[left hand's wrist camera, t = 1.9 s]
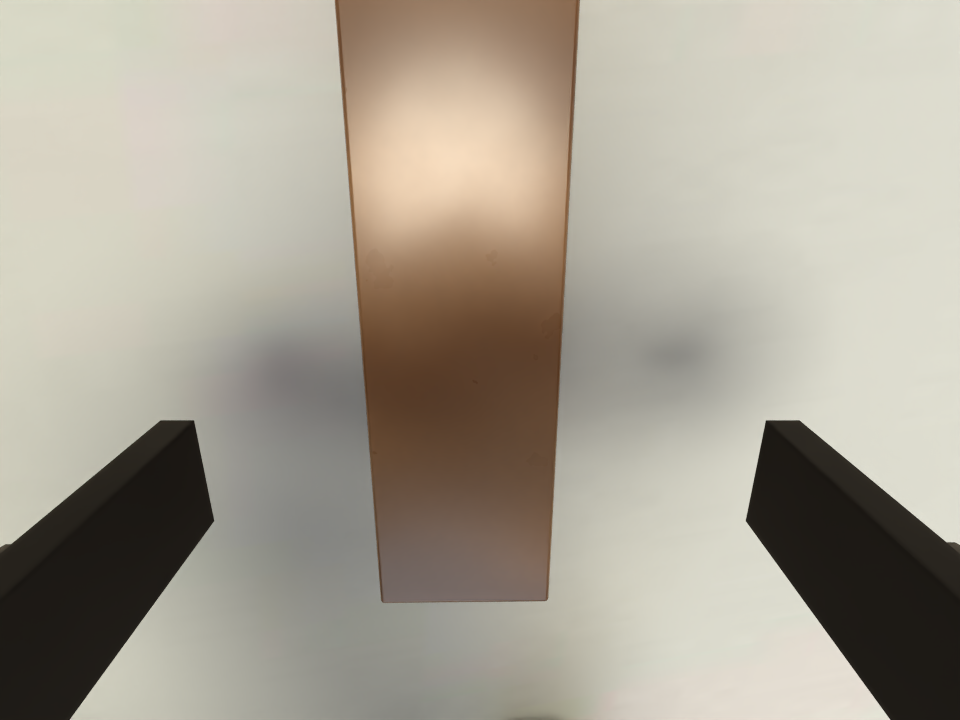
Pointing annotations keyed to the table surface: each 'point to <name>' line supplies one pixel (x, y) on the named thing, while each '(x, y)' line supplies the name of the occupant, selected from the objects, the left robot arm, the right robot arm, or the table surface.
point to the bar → (460, 281)
